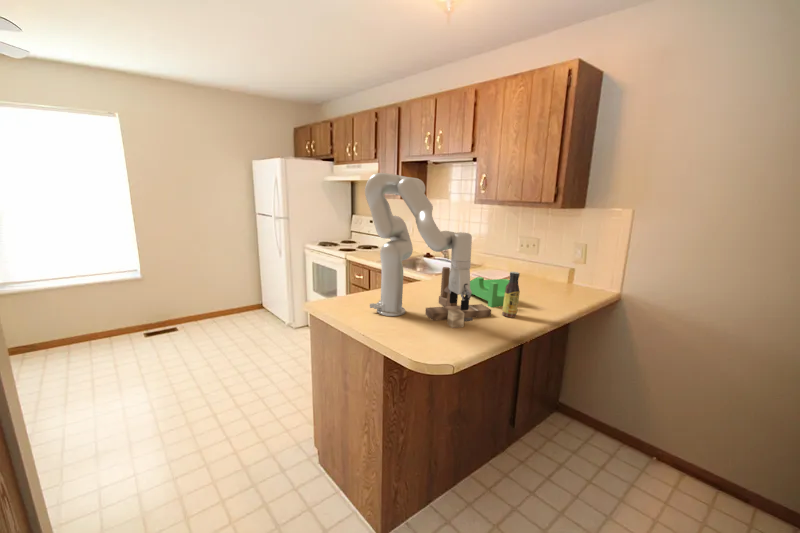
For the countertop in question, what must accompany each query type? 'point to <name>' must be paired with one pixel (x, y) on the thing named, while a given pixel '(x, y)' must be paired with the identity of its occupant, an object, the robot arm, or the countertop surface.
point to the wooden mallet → (445, 288)
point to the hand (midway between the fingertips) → (458, 306)
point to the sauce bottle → (511, 296)
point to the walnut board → (442, 312)
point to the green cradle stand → (489, 290)
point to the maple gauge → (456, 318)
